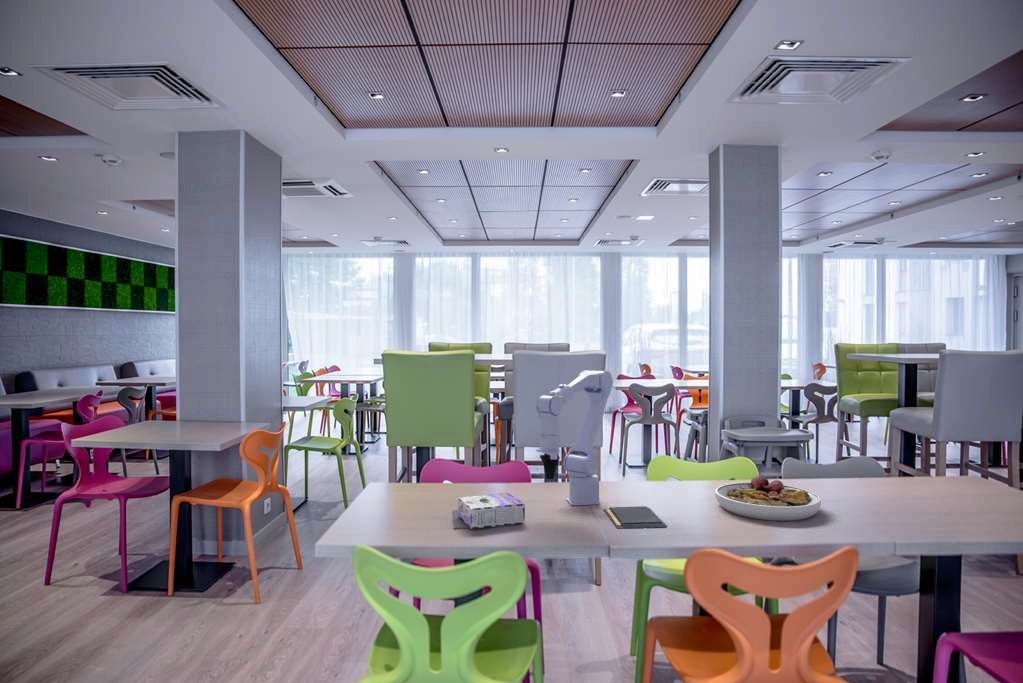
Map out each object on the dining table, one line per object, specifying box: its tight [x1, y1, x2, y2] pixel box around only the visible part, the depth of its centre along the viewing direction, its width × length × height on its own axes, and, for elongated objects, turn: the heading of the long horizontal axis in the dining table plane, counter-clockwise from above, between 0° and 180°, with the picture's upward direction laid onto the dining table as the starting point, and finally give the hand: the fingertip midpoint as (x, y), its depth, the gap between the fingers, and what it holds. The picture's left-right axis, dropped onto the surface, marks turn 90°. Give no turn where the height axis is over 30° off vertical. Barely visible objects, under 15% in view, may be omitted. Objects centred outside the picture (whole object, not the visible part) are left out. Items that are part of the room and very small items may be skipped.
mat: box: [452, 509, 511, 530], centre depth 179 cm, size 16×18×1 cm
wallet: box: [602, 505, 668, 530], centre depth 178 cm, size 20×2×15 cm
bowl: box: [714, 475, 822, 522], centre depth 186 cm, size 30×30×8 cm
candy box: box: [457, 492, 526, 530], centre depth 177 cm, size 14×6×16 cm
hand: (549, 478), depth 185 cm, fingers closed
